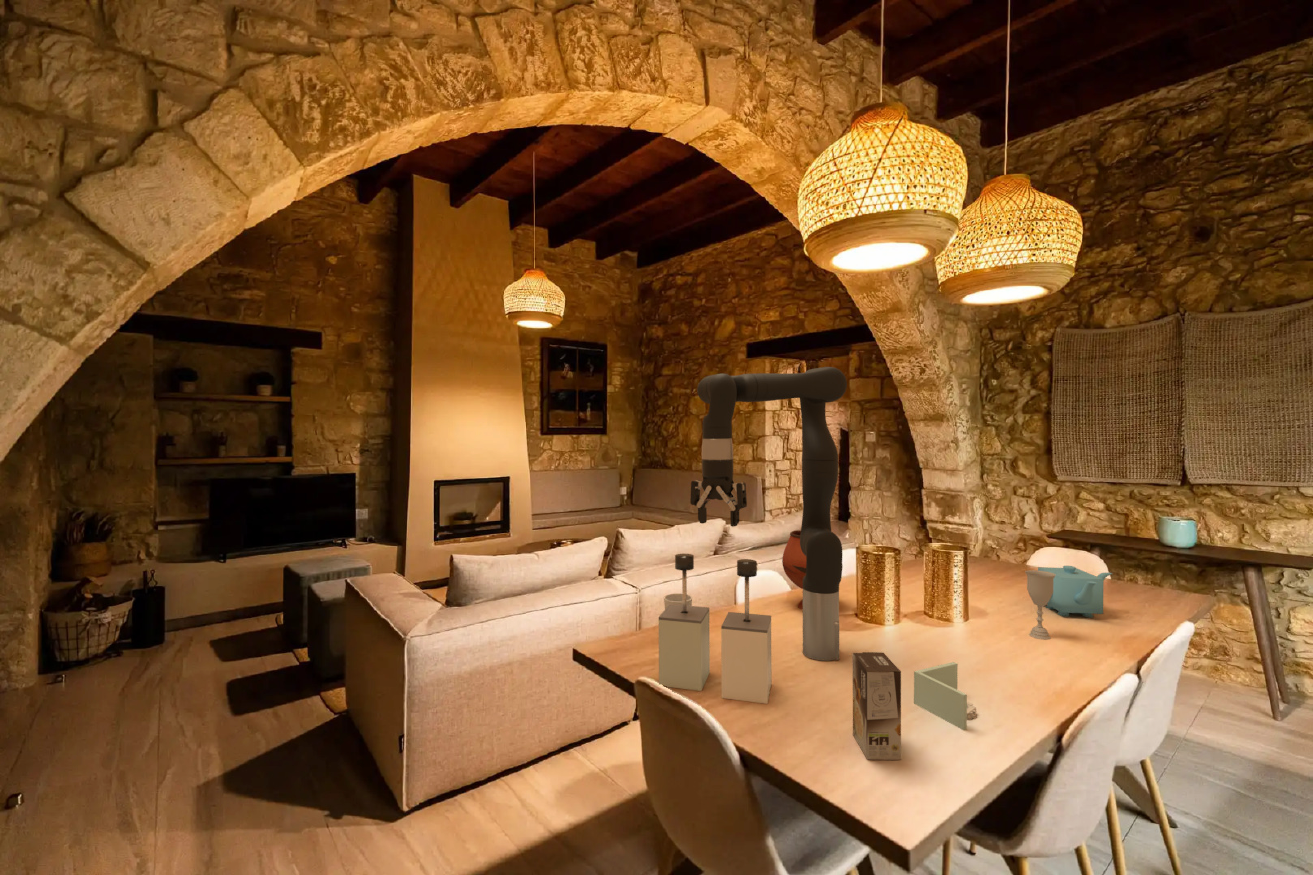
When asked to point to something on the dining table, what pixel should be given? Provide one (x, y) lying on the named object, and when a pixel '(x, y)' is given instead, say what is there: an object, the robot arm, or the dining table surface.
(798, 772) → the dining table surface
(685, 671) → the block
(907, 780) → the dining table surface
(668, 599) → the cup
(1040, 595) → the chalice
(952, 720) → the l-shaped corner panel
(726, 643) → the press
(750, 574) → the plunger
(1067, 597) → the teakettle
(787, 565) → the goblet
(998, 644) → the dining table surface
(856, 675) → the coffee box
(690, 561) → the plunger
